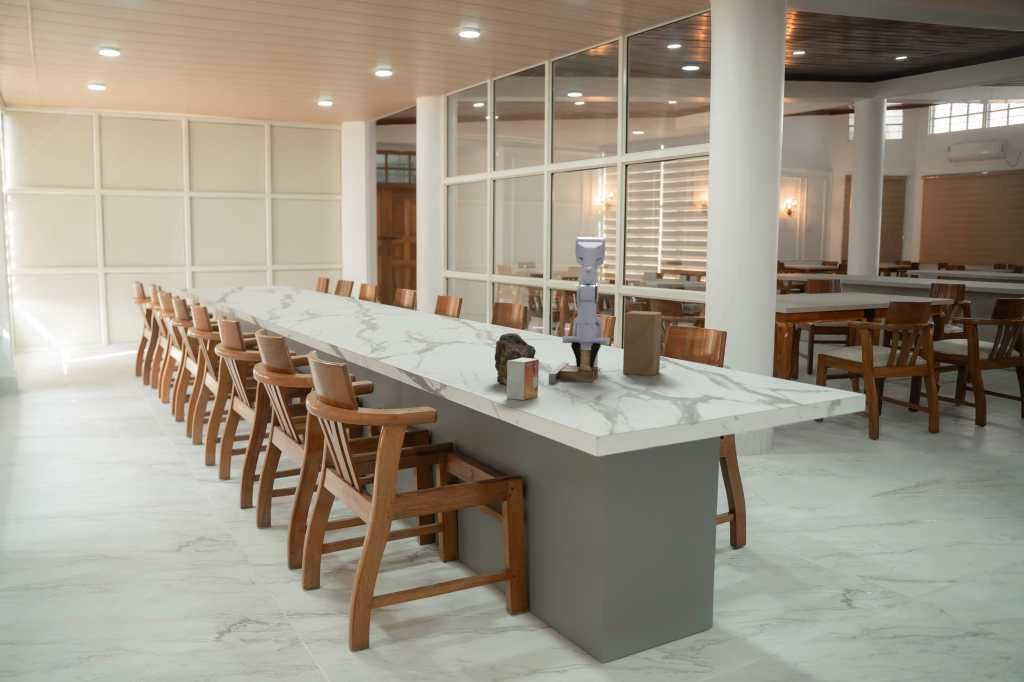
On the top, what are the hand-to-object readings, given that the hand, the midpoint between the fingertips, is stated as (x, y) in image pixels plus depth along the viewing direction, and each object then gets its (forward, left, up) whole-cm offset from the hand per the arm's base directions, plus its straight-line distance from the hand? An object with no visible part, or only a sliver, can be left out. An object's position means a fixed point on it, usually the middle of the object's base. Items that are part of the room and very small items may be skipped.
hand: (585, 366), depth 266 cm
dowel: (0, 0, -4) cm, 4 cm away
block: (0, -2, -4) cm, 4 cm away
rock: (+14, -19, -4) cm, 24 cm away
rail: (0, -8, -4) cm, 9 cm away
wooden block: (-18, +16, -4) cm, 24 cm away
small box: (+36, -12, -4) cm, 38 cm away
